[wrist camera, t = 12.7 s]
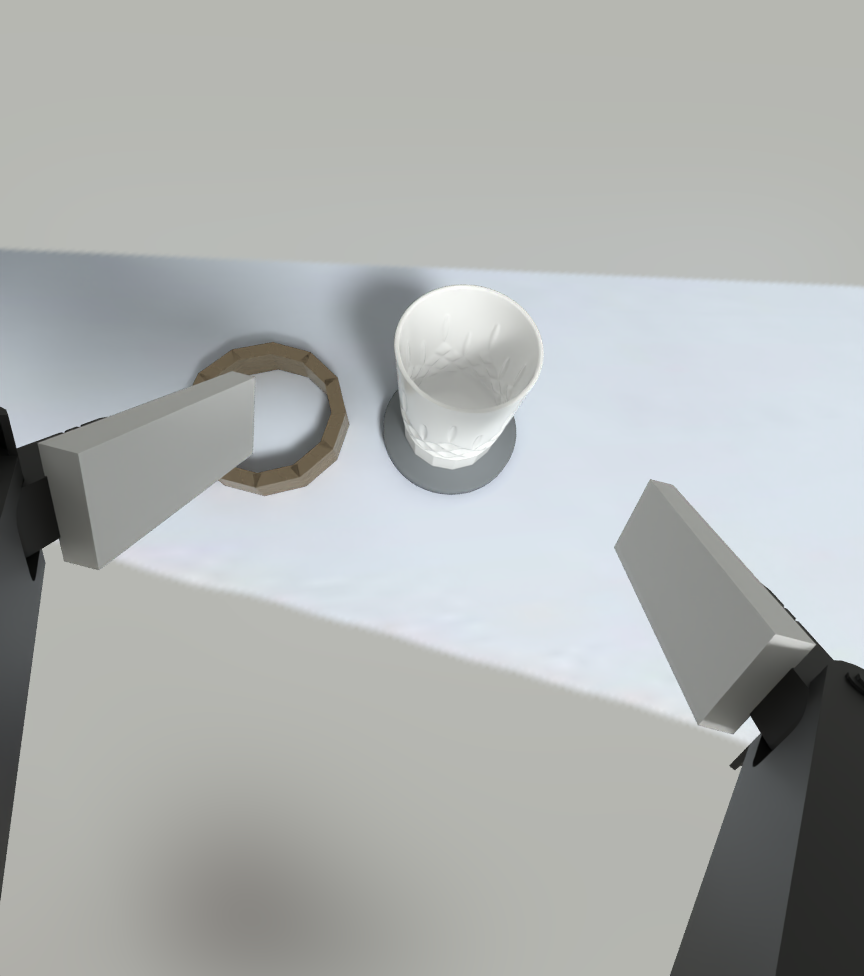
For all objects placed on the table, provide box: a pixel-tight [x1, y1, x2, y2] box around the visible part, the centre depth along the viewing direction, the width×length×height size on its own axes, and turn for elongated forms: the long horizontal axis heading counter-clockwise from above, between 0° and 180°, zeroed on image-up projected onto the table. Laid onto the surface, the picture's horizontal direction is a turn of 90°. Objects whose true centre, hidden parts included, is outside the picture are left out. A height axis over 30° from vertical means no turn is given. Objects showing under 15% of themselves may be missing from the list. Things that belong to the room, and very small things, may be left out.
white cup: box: [394, 285, 543, 470], centre depth 27 cm, size 8×8×10 cm
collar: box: [192, 342, 349, 496], centre depth 31 cm, size 11×11×2 cm
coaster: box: [383, 390, 516, 495], centre depth 32 cm, size 10×10×1 cm
